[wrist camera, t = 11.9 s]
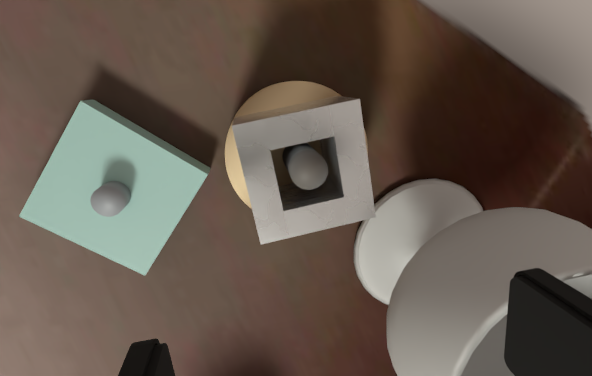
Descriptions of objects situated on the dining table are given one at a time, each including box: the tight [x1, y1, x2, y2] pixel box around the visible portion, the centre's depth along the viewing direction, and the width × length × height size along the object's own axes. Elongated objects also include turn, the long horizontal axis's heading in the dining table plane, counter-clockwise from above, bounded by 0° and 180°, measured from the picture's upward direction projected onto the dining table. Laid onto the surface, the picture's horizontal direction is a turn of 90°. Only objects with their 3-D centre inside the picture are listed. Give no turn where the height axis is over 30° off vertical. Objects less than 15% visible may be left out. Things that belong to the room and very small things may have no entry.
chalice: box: [354, 179, 592, 376], centre depth 24 cm, size 14×14×15 cm
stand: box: [19, 100, 210, 275], centre depth 24 cm, size 9×9×4 cm
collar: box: [232, 96, 376, 244], centre depth 22 cm, size 7×7×5 cm
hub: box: [225, 81, 368, 209], centre depth 24 cm, size 10×10×7 cm
